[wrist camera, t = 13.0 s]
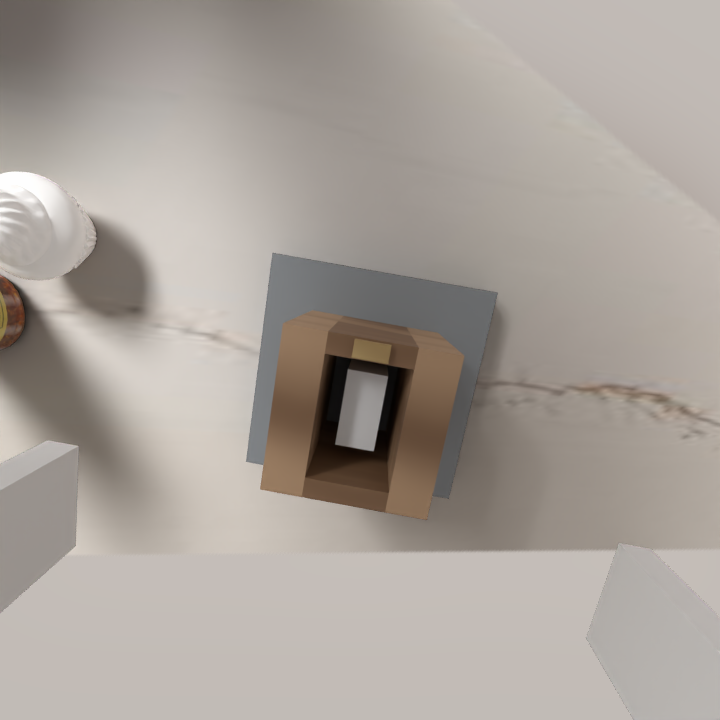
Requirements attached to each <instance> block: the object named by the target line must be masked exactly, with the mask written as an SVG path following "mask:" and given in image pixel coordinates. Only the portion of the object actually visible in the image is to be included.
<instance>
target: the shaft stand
mask: <svg viewBox="0 0 720 720" xmlns="http://www.w3.org/2000/svg"><path fill="white" fill-rule="evenodd" d="M497 294H498V293H496V292H491V291H485V290H480V289H474V288H468V287H463V286H457V285H451V284H446V283H440V282H434V281H429V280H423V279H417V278H412V277H406V276H400V275H395V274H389V273H383V272H378V271H372V270H366V269H361V268H355V267H349V266H344V265H338V264H333V263H327V262H321V261H316V260H310V259H304V258H299V257H293V256H287V255H282V254H276V253H273V254H272V262H271V269H270V277H269V285H268V293H267V301H266V309H265V317H264V325H263V333H262V341H261V348H260V356H259V364H258V372H257V380H256V388H255V396H254V404H253V412H252V420H251V427H250V435H249V443H248V451H247V459H246V462H250V463H256V464H261V465H264V458H265V451H266V444H267V436H268V429H269V422H270V414H271V407H272V400H273V393H274V385H275V378H276V371H277V363H278V356H279V349H280V342H281V334H282V327H283V323H285V322H287V321H289V320H291V319H294V318H296V317H298V316H300V315H303V314H305V313H307V312H309V311H312V310H314V311H320V312H325V313H331V314H336V315H342V316H347V317H353V318H359V319H364V320H370V321H375V322H381V323H386V324H392V325H398V326H403V327H409V328H414V329H420V330H425V331H431V332H437V333H439V334H440V335H441V336H442V337H443V338H445V339H446V340H447V341H448V342H449V343H450V344H451V345H453V346H454V347H455V348H456V349H457V350H458V351H460V352H461V353H462V354H463V355H464V361H463V365H462V369H461V374H460V378H459V382H458V387H457V391H456V395H455V400H454V404H453V408H452V413H451V417H450V421H449V426H448V430H447V434H446V439H445V443H444V447H443V452H442V456H441V460H440V465H439V469H438V473H437V478H436V482H435V486H434V491H433V495H432V496H437V497H442V498H448V499H449V495H450V491H451V487H452V483H453V478H454V474H455V470H456V466H457V462H458V457H459V453H460V449H461V445H462V441H463V436H464V432H465V428H466V424H467V420H468V415H469V411H470V407H471V403H472V399H473V394H474V390H475V386H476V382H477V378H478V373H479V369H480V365H481V361H482V357H483V352H484V348H485V344H486V340H487V336H488V331H489V327H490V323H491V319H492V315H493V310H494V306H495V302H496V298H497ZM397 372H398V367H396V366H390V365H385V364H379V363H374V362H368V361H363V360H357V359H352V358H346V357H341V356H337V359H336V365H335V371H334V377H333V383H332V389H331V395H330V401H329V407H328V413H327V419H326V420H328V421H333V422H339V425H338V431H337V437H336V442H335V444H336V445H341V446H347V447H352V448H358V449H363V450H369V451H374V447H375V442H376V437H377V432H378V430H383V431H386V428H387V423H388V418H389V413H390V408H391V403H392V398H393V393H394V388H395V383H396V377H397Z"/></svg>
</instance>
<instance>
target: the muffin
mask: <svg viewBox="0 0 720 720" xmlns="http://www.w3.org/2000/svg"><path fill="white" fill-rule="evenodd" d="M95 230H96V229H95V227H94V224H93V222H92V220H91V219H90V218H89V217H88V215H87V214H86V212H85V211H84V209H83V208H82V207H81V205H79V204H78V202H77V201H76V200H75V198H74V197H71V196H70V195H69V194H68V192H67V191H65V190H64V189H63V188H62V187H61V186H59V185H58V184H57V183H55V182H53V181H52V180H50V179H48V178H46V177H43V176H40V175H38V174H34V173H29V172H18V171H16V172H6V173H3V174H0V268H2V269H3V270H5V271H6V272H8V273H10V274H12V275H14V276H17V277H19V278H23V279H28V280H49V279H54V278H57V277H60V276H62V275H64V274H65V273H68V272H70V271H71V270H72V269H73V268H77V267H78V266H79V265H80V264H81V263H82V262H83V261H84V260H85V259H86V258H87V257H88V256H89V255H90V254H91V253H92V252H93V249H94V248H95V246H94V245H95V244H96V240H97V238H96V235H97V233H96V232H95Z"/></svg>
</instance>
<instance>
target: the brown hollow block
mask: <svg viewBox="0 0 720 720" xmlns="http://www.w3.org/2000/svg"><path fill="white" fill-rule="evenodd" d="M337 356H341V357H346V358H352V359H357V360H363V361H368V362H374V363H379V364H385V365H390V366H396V367H398V372H397V377H396V383H395V388H394V393H393V398H392V403H391V408H390V413H389V418H388V423H387V428H386V431H383V430H378V432H377V437H376V442H375V447H374V451H369V450H363V449H358V448H352V447H347V446H341V445H336V444H335V442H336V437H337V431H338V425H339V422H333V421H328V420H326V419H327V413H328V407H329V401H330V395H331V389H332V383H333V377H334V371H335V365H336V359H337ZM463 361H464V355H463V354H462V353H461V352H460V351H458V350H457V349H456V348H455V347H454V346H453V345H451V344H450V343H449V342H448V341H447V340H446V339H445V338H443V337H442V336H441V335H440V334H439V333H437V332H431V331H425V330H420V329H414V328H409V327H403V326H398V325H392V324H386V323H381V322H375V321H370V320H364V319H359V318H353V317H347V316H342V315H336V314H331V313H325V312H320V311H314V310H312V311H309V312H307V313H305V314H303V315H300V316H298V317H296V318H294V319H291V320H289V321H287V322H285V323H283V327H282V334H281V342H280V349H279V356H278V363H277V371H276V378H275V385H274V393H273V400H272V407H271V414H270V422H269V429H268V436H267V444H266V451H265V458H264V465H263V473H262V480H261V487H260V489H261V490H267V491H272V492H277V493H283V494H288V495H294V496H299V497H305V498H310V499H315V500H321V501H326V502H332V503H337V504H343V505H348V506H353V507H359V508H364V509H370V510H375V511H380V512H386V513H391V514H397V515H402V516H408V517H413V518H418V519H424V520H427V517H428V512H429V508H430V504H431V499H432V495H433V491H434V486H435V482H436V478H437V473H438V469H439V465H440V460H441V456H442V452H443V447H444V443H445V439H446V434H447V430H448V426H449V421H450V417H451V413H452V408H453V404H454V400H455V395H456V391H457V387H458V382H459V378H460V374H461V369H462V365H463Z"/></svg>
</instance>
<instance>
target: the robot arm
mask: <svg viewBox="0 0 720 720" xmlns="http://www.w3.org/2000/svg"><path fill="white" fill-rule="evenodd" d="M78 459H79V446H77V445H71V444H66V443H60V442H55V441H49V440H47V441H45V442H43V443H41V444H39V445H37V446H35V447H33V448H31V449H29V450H27V451H25V452H23V453H21V454H19V455H17V456H15V457H13V458H11V459H9V460H7V461H5V462H3V463H1V464H0V613H1V612H2V611H3V610H4V609H5V608H7V607H8V606H9V605H10V604H11V603H12V602H13V601H14V600H15V599H17V598H18V597H19V596H20V595H21V594H22V593H23V592H25V590H27V589H28V588H29V587H30V586H31V585H32V584H33V583H34V582H36V581H37V580H38V579H39V578H40V577H41V576H42V575H44V574H45V573H46V572H47V571H48V570H49V569H50V568H51V567H53V566H54V565H55V564H56V563H57V562H58V561H59V560H60V559H62V558H63V557H64V556H65V555H66V554H67V553H68V552H69V551H70V550H72V549H73V548H74V547H75V546H76V520H77V490H78ZM586 639H587V641H588V642H589V644H590V646H591V647H592V649H593V651H594V653H595V654H596V656H597V658H598V660H599V661H600V663H601V665H602V666H603V668H604V670H605V672H606V673H607V675H608V677H609V679H610V680H611V682H612V684H613V685H614V687H615V689H616V690H617V692H618V694H619V696H620V697H621V699H622V701H623V703H624V704H625V706H626V708H627V709H628V711H629V713H630V715H631V716H632V718H633V720H720V617H719V616H718V615H717V614H716V613H715V612H714V611H713V610H712V609H711V608H710V607H709V606H708V605H707V604H706V603H705V602H704V601H703V600H702V599H701V598H700V597H699V596H698V595H697V594H696V593H695V592H694V591H693V590H692V589H691V588H690V587H689V586H688V585H687V584H686V583H685V582H684V581H683V580H682V579H681V578H680V577H679V576H678V575H677V574H676V573H675V572H674V571H673V570H672V569H671V568H670V567H669V566H668V565H667V564H666V563H665V562H664V561H662V560H661V558H660V557H659V556H658V555H657V554H656V553H655V552H654V551H653V550H652V549H650V548H645V547H639V546H634V545H628V544H622V543H619V544H618V547H617V550H616V553H615V556H614V559H613V562H612V564H611V567H610V570H609V573H608V576H607V579H606V582H605V585H604V588H603V591H602V594H601V596H600V599H599V602H598V605H597V608H596V611H595V614H594V617H593V620H592V623H591V625H590V628H589V631H588V634H587V637H586Z"/></svg>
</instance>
